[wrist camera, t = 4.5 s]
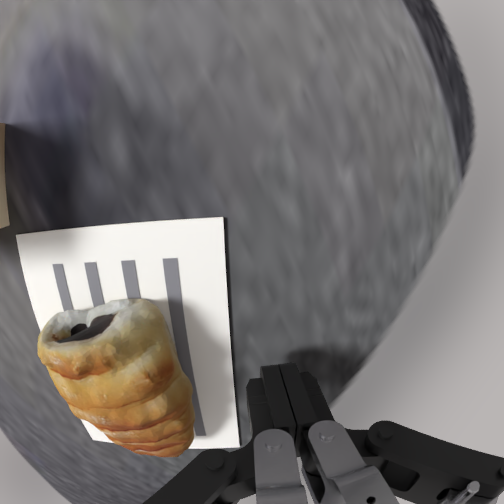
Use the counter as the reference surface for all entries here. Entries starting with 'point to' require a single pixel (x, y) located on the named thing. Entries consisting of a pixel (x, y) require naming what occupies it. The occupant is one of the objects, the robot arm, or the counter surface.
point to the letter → (149, 298)
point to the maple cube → (3, 181)
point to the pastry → (122, 375)
